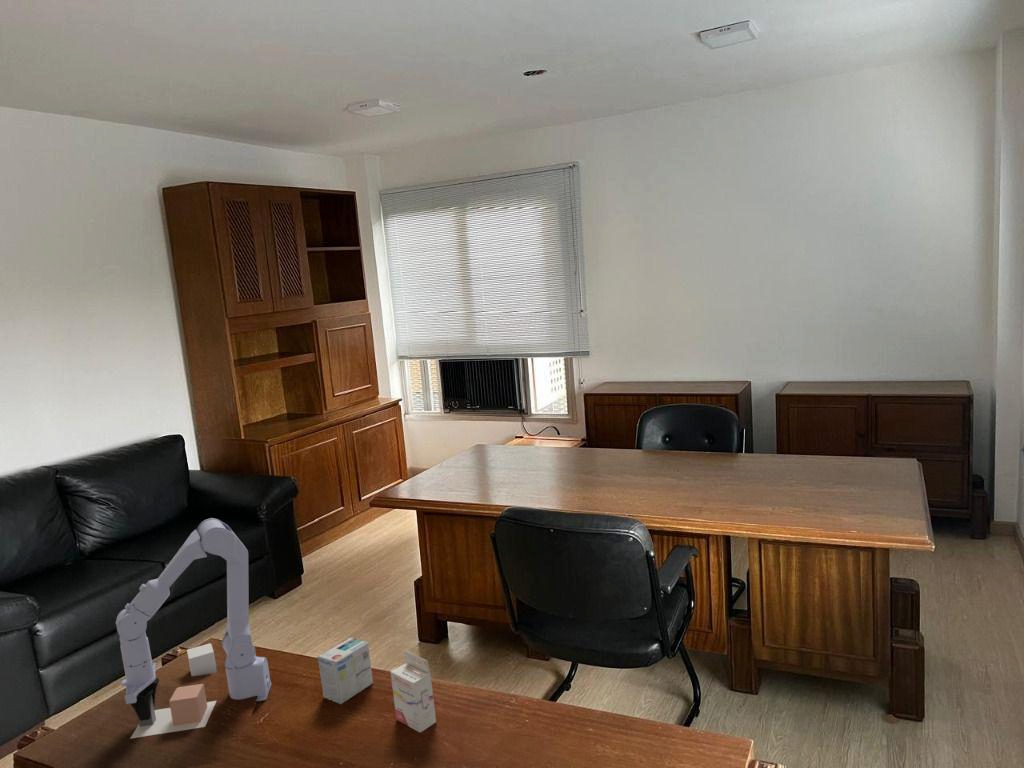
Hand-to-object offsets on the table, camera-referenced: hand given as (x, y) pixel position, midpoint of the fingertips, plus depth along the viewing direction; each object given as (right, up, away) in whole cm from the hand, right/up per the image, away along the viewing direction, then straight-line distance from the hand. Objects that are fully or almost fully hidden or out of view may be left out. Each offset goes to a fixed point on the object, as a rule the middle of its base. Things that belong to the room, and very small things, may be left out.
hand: (147, 716), depth 178 cm
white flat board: (+6, -2, +1) cm, 7 cm away
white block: (+3, +1, +25) cm, 25 cm away
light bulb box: (+44, +2, +9) cm, 45 cm away
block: (+9, -1, +1) cm, 10 cm away
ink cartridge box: (+62, +2, -7) cm, 63 cm away
